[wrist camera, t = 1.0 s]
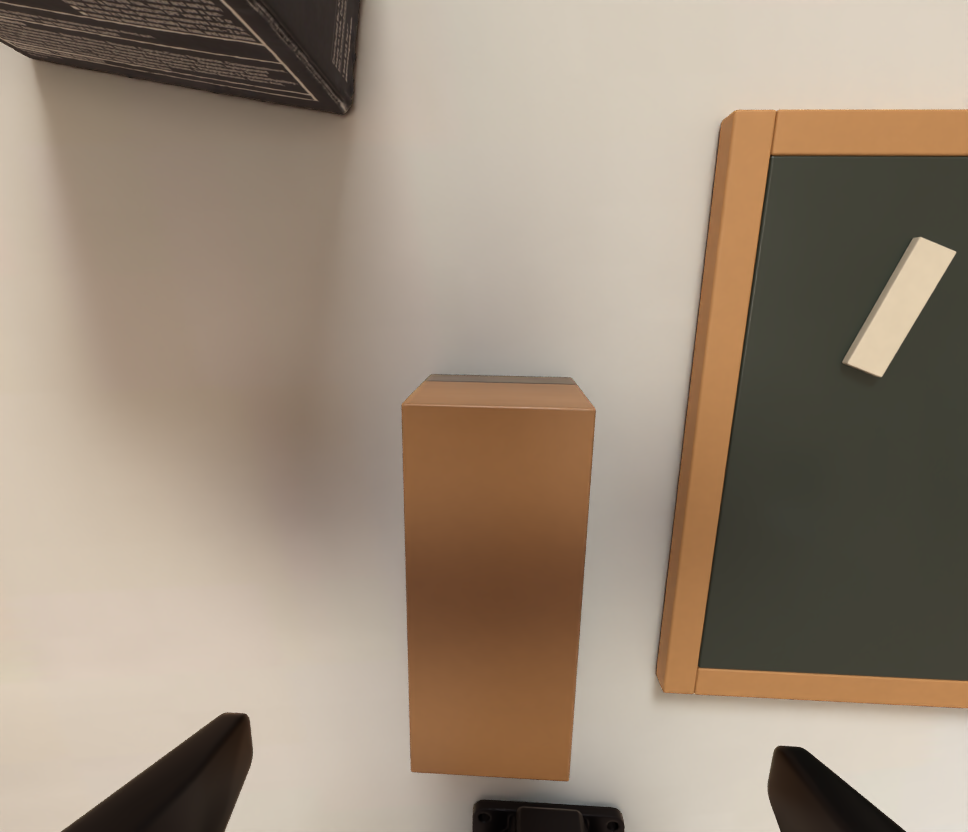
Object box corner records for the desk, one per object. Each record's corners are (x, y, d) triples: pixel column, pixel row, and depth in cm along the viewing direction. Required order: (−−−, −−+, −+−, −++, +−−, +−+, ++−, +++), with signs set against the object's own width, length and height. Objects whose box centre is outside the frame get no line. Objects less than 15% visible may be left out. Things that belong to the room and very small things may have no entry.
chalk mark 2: (875, 376, 16) (882, 378, 15) (840, 362, 16) (847, 364, 15) (948, 252, 15) (957, 251, 14) (912, 237, 15) (920, 236, 14)
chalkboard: (1073, 694, 19) (1103, 716, 18) (655, 674, 20) (662, 693, 19) (1282, 120, 14) (1339, 108, 13) (720, 120, 15) (735, 108, 14)
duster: (555, 669, 20) (569, 782, 15) (432, 662, 20) (410, 773, 16) (572, 377, 17) (596, 408, 12) (429, 373, 17) (400, 403, 13)
